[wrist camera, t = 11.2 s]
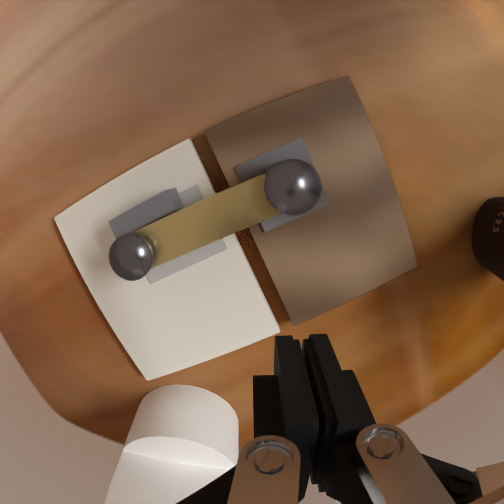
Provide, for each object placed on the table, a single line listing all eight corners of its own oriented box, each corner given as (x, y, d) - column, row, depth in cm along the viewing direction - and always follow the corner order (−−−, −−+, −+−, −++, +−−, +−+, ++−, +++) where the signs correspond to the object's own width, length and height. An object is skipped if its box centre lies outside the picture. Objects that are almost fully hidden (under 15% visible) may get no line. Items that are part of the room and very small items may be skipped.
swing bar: (296, 154, 18) (310, 150, 14) (313, 198, 19) (331, 203, 15) (124, 230, 19) (100, 243, 15) (142, 269, 19) (123, 290, 16)
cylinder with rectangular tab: (141, 443, 25) (112, 541, 13) (136, 375, 23) (86, 489, 11) (232, 457, 26) (231, 561, 14) (245, 392, 24) (250, 519, 12)
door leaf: (60, 215, 20) (35, 223, 16) (191, 140, 19) (181, 133, 16) (150, 373, 23) (139, 399, 20) (278, 325, 22) (284, 349, 19)
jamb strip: (205, 133, 19) (203, 130, 18) (343, 79, 18) (349, 74, 17) (291, 319, 22) (294, 327, 21) (411, 262, 21) (419, 266, 20)
